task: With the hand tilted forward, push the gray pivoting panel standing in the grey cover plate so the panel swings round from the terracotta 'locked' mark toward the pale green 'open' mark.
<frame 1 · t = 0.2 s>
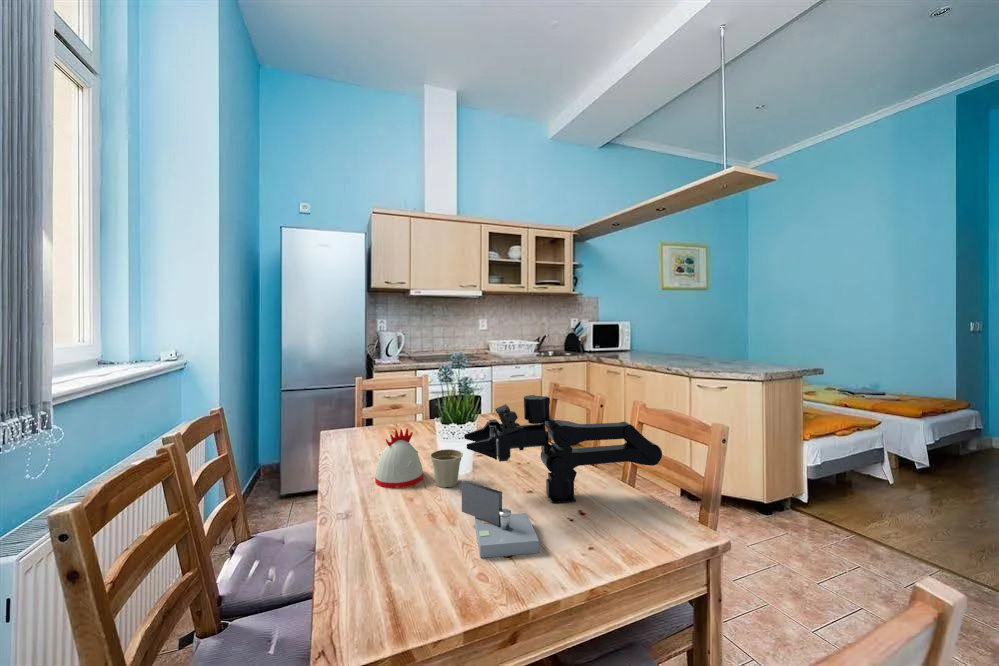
hand: (465, 441, 104), 16 cm above the table, tool horizontal, fingers open, 9 cm apart
gray pivoting panel: (485, 503, 91), point 6 cm above the table, hinge at 0.0°
grey and red dome: (399, 479, 121), on the table
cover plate: (505, 539, 88), on the table
flower pot: (446, 484, 117), on the table
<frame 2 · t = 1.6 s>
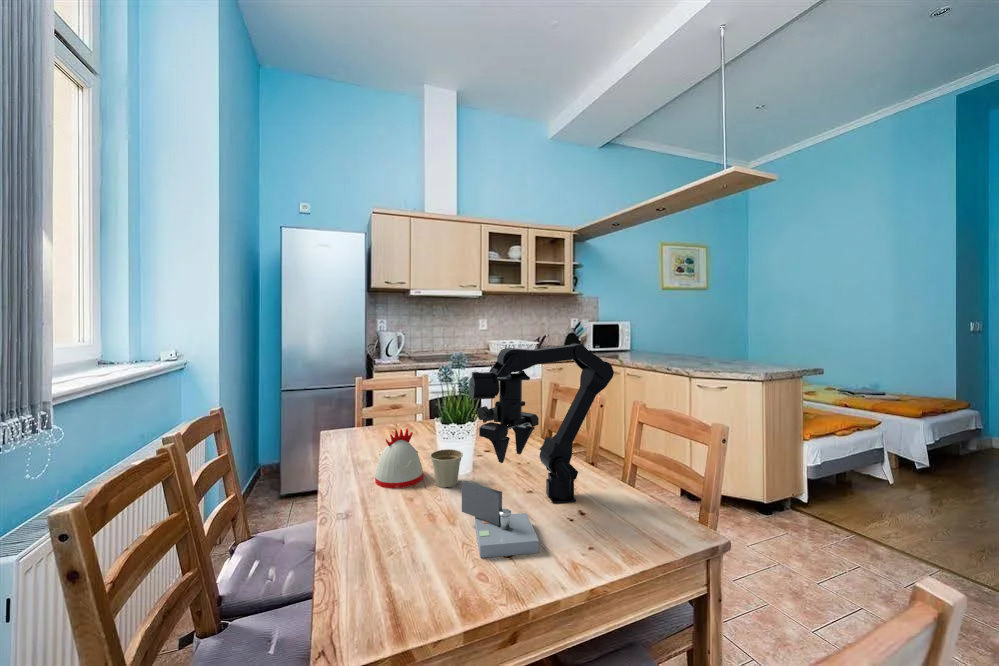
hand: (510, 458, 104), 12 cm above the table, tool pointing down, fingers open, 8 cm apart
nothing on the table moved.
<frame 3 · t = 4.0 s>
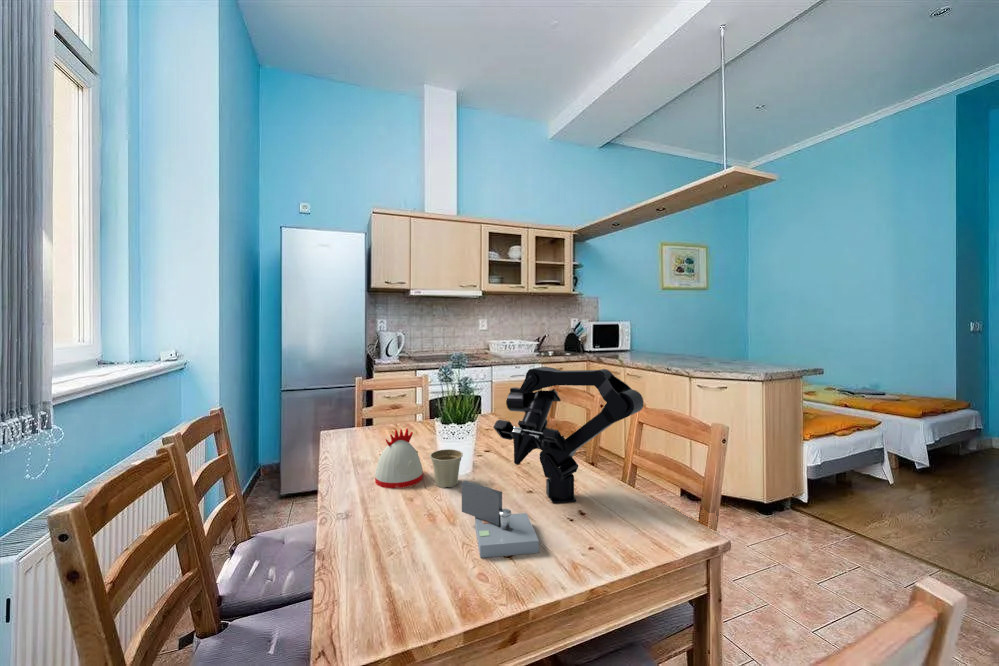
hand: (516, 464, 101), 11 cm above the table, tool tilted 45°, fingers closed
nothing on the table moved.
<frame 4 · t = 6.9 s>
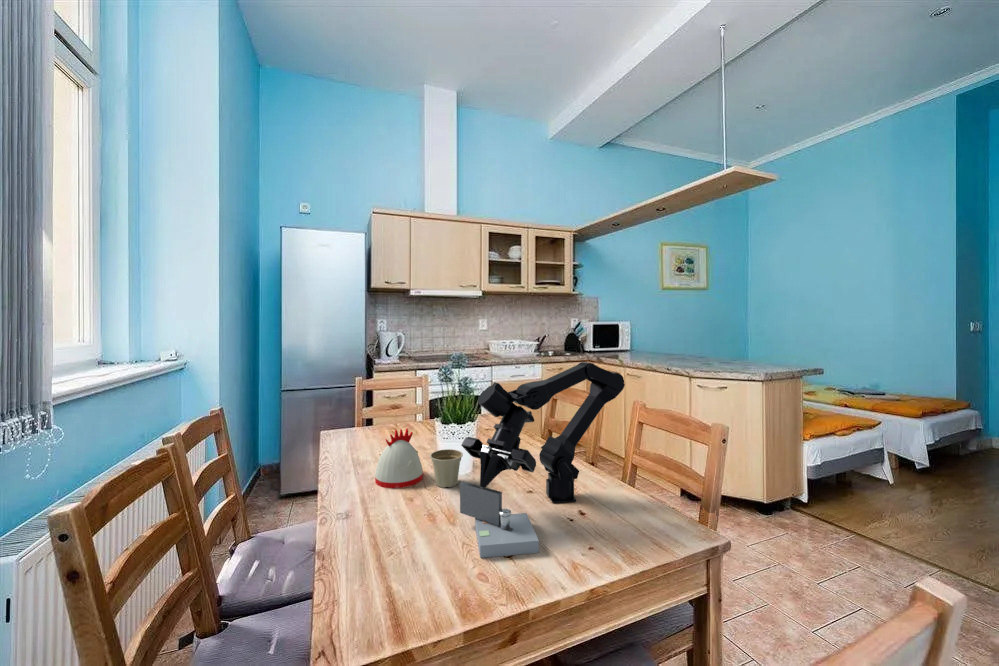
hand: (482, 487, 92), 10 cm above the table, tool tilted 45°, fingers closed, pressing on gray pivoting panel
gray pivoting panel: (484, 504, 90), point 6 cm above the table, hinge at 3.0°, touching gripper
everything else where it was.
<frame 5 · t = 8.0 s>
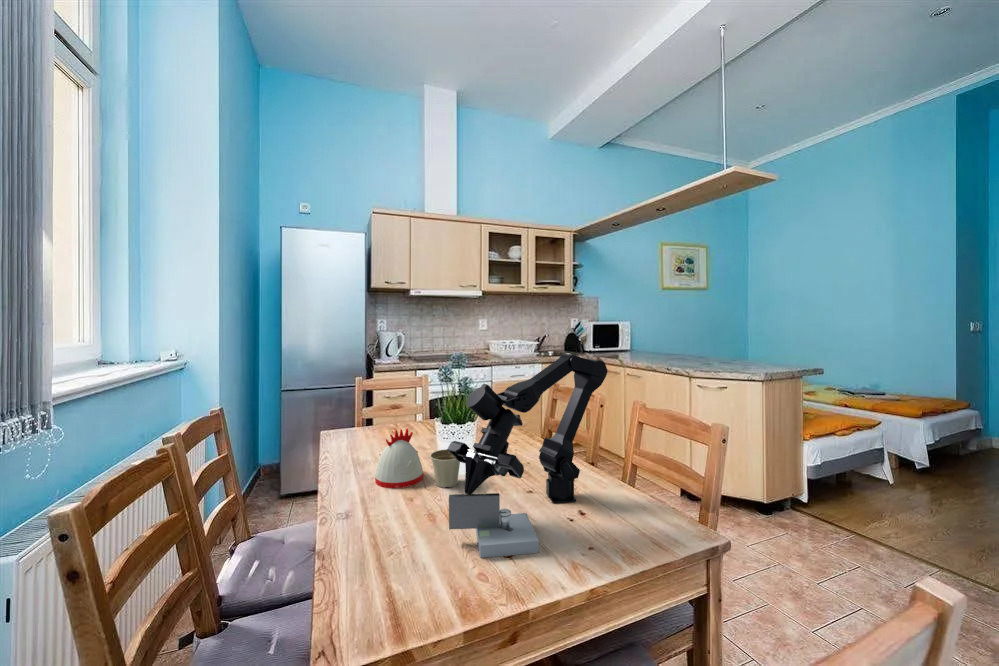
hand: (467, 493, 88), 10 cm above the table, tool tilted 45°, fingers closed
gray pivoting panel: (480, 511, 87), point 6 cm above the table, hinge at 39.8°, touching gripper
everything else where it was.
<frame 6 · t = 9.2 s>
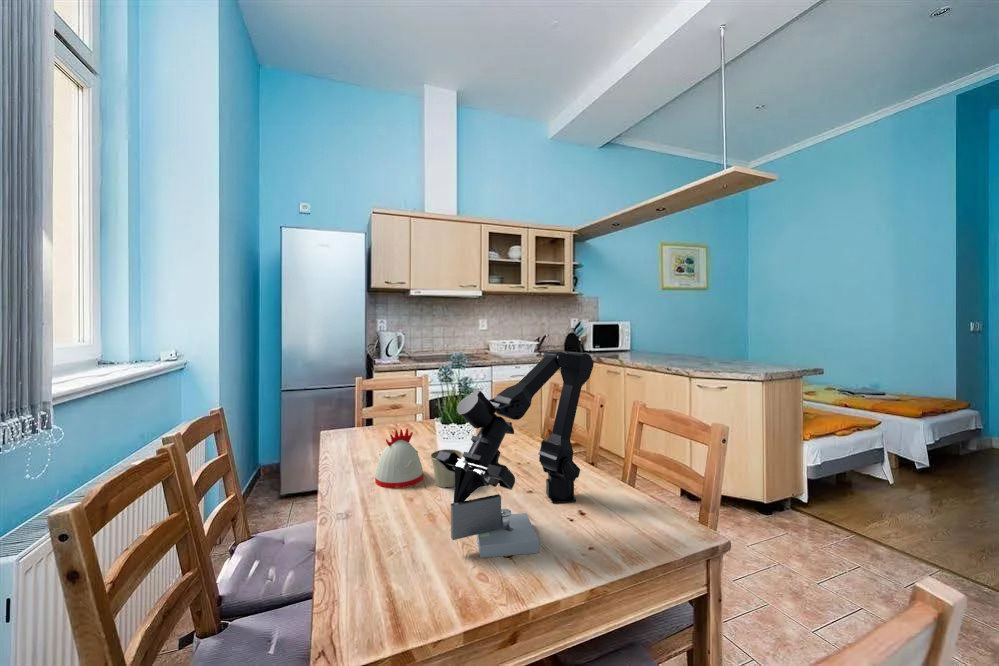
hand: (455, 505, 84), 9 cm above the table, tool tilted 45°, fingers closed
gray pivoting panel: (482, 515, 85), point 6 cm above the table, hinge at 61.1°, touching gripper
everything else where it was.
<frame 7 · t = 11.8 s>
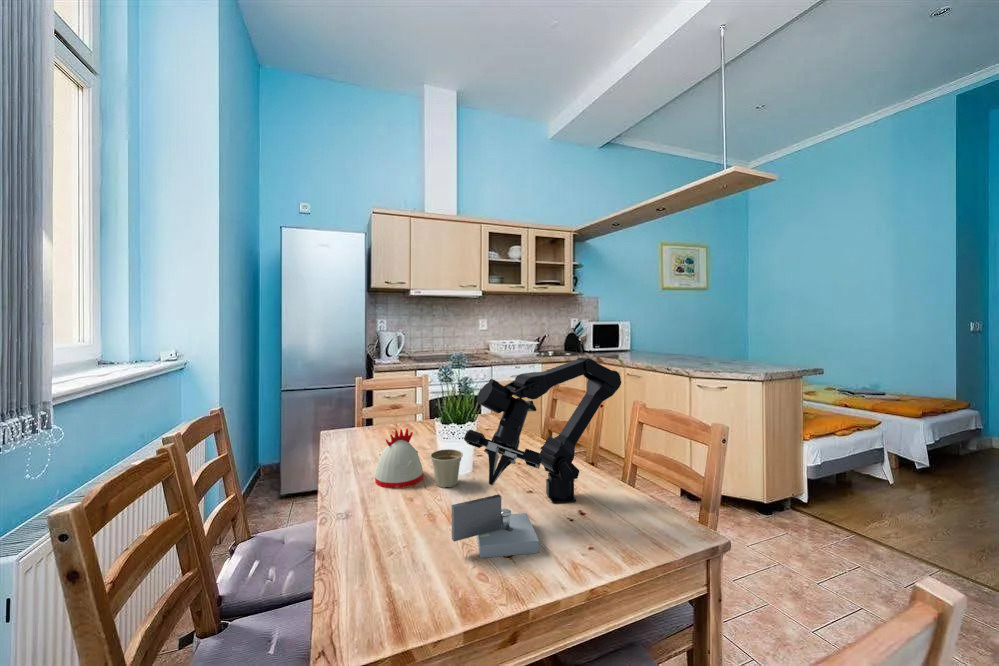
hand: (490, 484, 94), 9 cm above the table, tool tilted 35°, fingers closed
gray pivoting panel: (482, 516, 85), point 6 cm above the table, hinge at 63.9°
everything else where it was.
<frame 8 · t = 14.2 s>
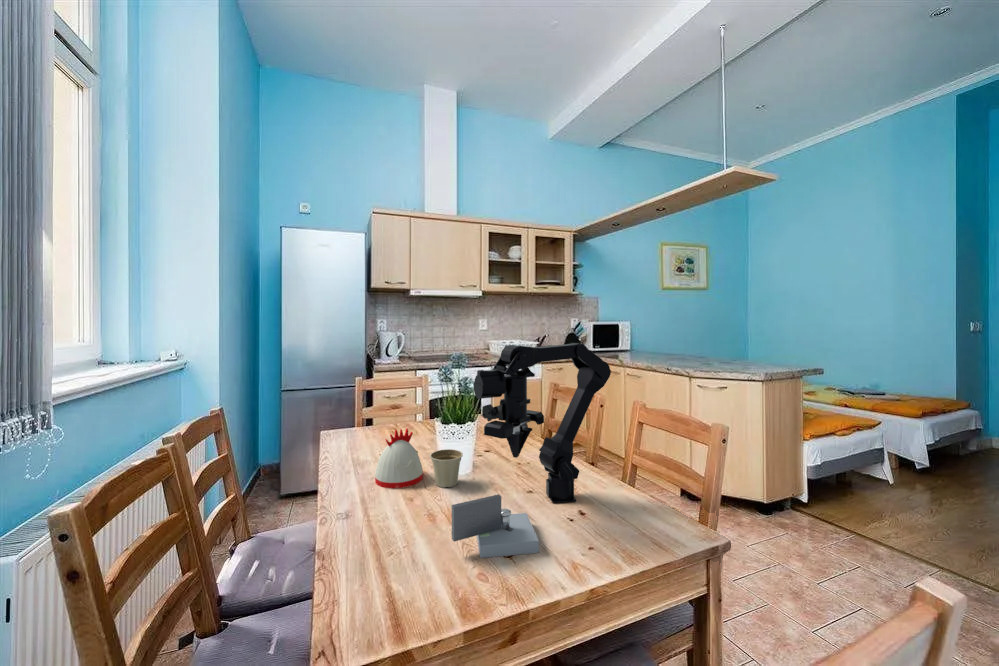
hand: (515, 457, 102), 13 cm above the table, tool pointing down, fingers closed
nothing on the table moved.
at the end: gray pivoting panel at +64° (first picture: +0°) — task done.
